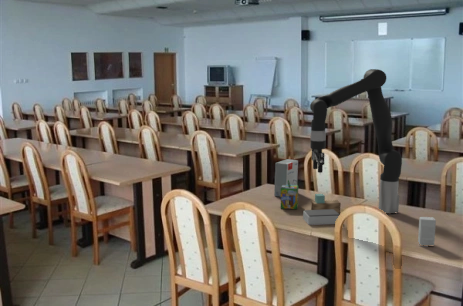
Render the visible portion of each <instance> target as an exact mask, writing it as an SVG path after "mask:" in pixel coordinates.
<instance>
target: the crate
mask: <svg viewBox="0 0 463 306" xmlns="http://www.w3.org/2000/svg"><path fill="white" fill-rule="evenodd" d="M325 199H326V196H325V194H324V193H315V194H314V201H315V202H316V203H325V201H326V200H325Z"/></svg>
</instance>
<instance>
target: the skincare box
mask: <svg viewBox="0 0 463 306" xmlns="http://www.w3.org/2000/svg"><path fill="white" fill-rule="evenodd" d="M418 218H419V221H418V235H417V236H418V238H417V243H418V242H419V244H421V245H434V246H435V240H436V238H435V237H436V224H437V220H436V219H435V217H433V216H430V217H429V216H419V217H418ZM419 244H418V245H419Z"/></svg>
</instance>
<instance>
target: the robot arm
mask: <svg viewBox="0 0 463 306" xmlns="http://www.w3.org/2000/svg"><path fill="white" fill-rule="evenodd" d="M386 82H387V74H386V73H385V71H383V70H381V69H377V68H375V69H373V68H372V69H371V68H370V69H368V70H366V71H365V73H364V74H363V78H362V79H360V80H358V81H356V82H353V83H351V84H348V85H345V86H342V87H340V88H337V89H335V90H333V91H331V92H330V93H327V94H326V95H321V96H320V97H317V98H314V99H313V100H312V101H311V102H310V105H309V108H310V111H311V112H312V115H313V116H312V119H311V123H310V128H311V129H310V149H311V160H312V169H313V170H317V172H318V173H319V174H321V173H323V168H324V167H323V166H325V152H323V150H325V149H326V147H327V146H326V145H327V143H326V141H327V140H326V138H327V137H326V136H327V134H326V120H327V115H328V109H329V108H331V107H336V106H338V105H341V104H342V103H344V102H346V101H349V100H351V99H352V98H354V97H357V96H358V95H361V94H363V93H367V96H368V101H369V102H368V103H369V107H370V111H371V118H372V123H373V127H374V132H375V136H376V140H377V146H378V147H377V149H378V159H379V161H380V163H381V164H382V165H383V172H382V173H380V177H379V194H378V195H379V196H378V208H379V209H381V210H383V211H384V212H386V213H395V212H398V213H399V209H400V208H399V207H400V206H399V205H400V195H399V181H400V176H401V174H402V166H403V165H402V164H403V157H402V155H401V153H400V152H399V151H398V150H395V149H394V146H393V141H392V132H393V119H392V115H391V114H392V113H391V110H390V107H389V106H388V103H387V101H386V99H385V97H384V95H383V90H382V87H383V86H384V85H385V84H386Z"/></svg>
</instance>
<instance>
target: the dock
mask: <svg viewBox="0 0 463 306" xmlns="http://www.w3.org/2000/svg"><path fill="white" fill-rule="evenodd" d="M339 215H341V213H340V214H338V213H337V212H336V211H335V210H334V209H326V210H311V209H304V210H303V212H302V219H303V220H304V222H305V223H307V225H308V226H314V225H315V226H316V225H336V224H335V221H336V219H337V218H338V216H339Z"/></svg>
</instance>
